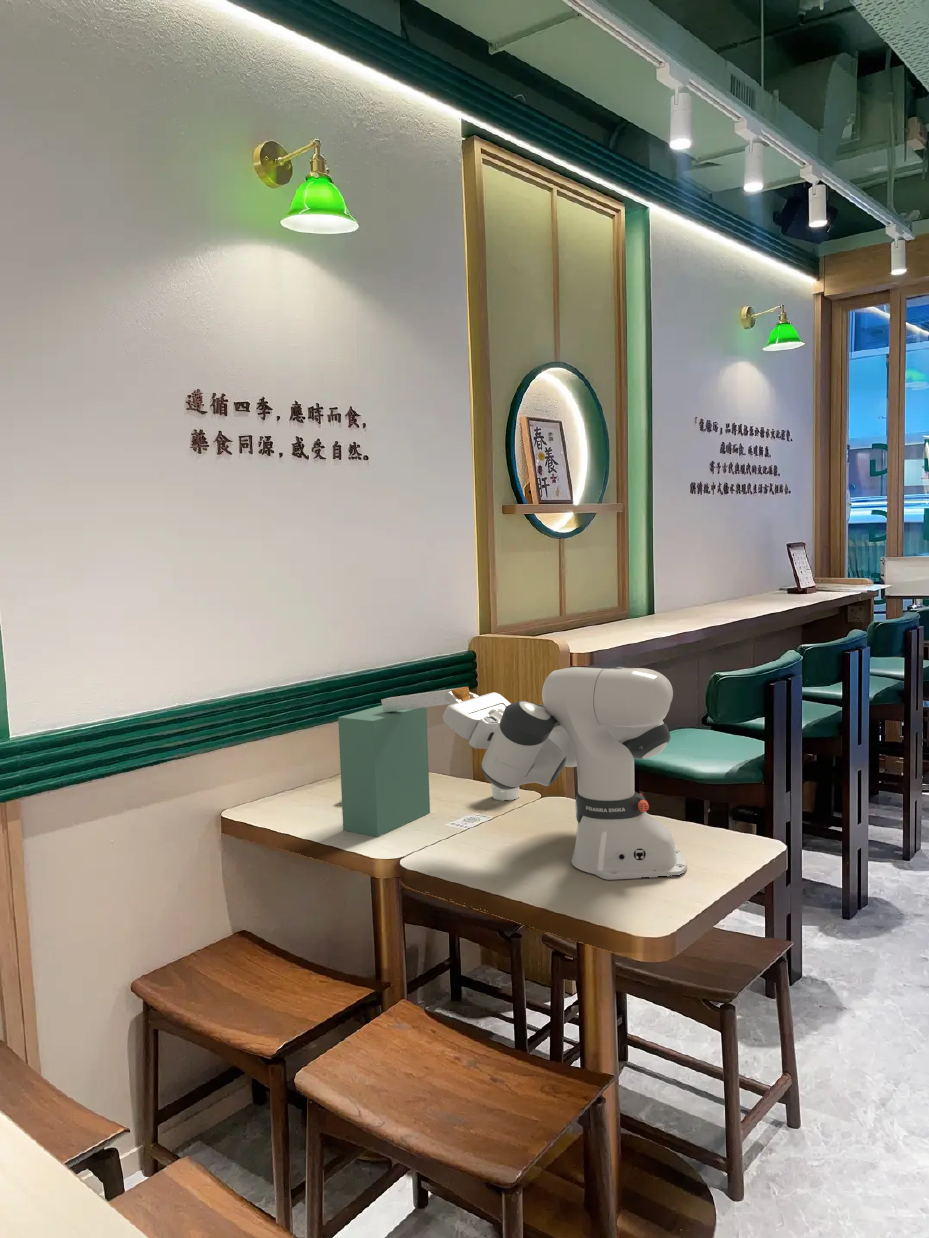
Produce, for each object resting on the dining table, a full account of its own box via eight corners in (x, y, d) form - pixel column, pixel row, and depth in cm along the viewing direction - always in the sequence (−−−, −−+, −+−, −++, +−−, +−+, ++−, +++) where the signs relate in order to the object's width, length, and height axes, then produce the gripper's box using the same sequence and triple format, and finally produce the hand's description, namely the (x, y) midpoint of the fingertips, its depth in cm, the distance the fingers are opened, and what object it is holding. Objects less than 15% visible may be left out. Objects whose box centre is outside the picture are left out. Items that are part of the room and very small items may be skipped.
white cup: (487, 801, 231) (486, 761, 230) (492, 792, 238) (491, 754, 237) (519, 801, 229) (518, 762, 228) (523, 793, 237) (522, 754, 236)
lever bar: (470, 700, 203) (468, 686, 203) (463, 702, 201) (460, 688, 201) (391, 710, 215) (389, 697, 215) (383, 712, 212) (381, 699, 212)
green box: (430, 812, 222) (426, 705, 220) (377, 836, 206) (373, 720, 203) (396, 807, 228) (392, 702, 225) (343, 830, 211) (338, 717, 209)
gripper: (530, 708, 205) (483, 674, 211) (481, 724, 188) (432, 687, 194) (518, 731, 207) (472, 696, 213) (469, 749, 190) (420, 712, 196)
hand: (452, 692), depth 204 cm, fingers closed on lever bar, 3 cm apart
